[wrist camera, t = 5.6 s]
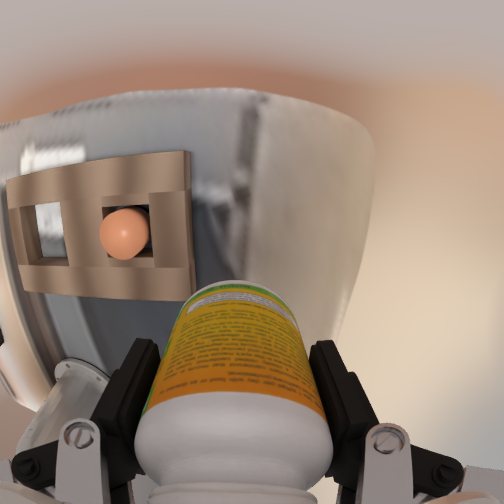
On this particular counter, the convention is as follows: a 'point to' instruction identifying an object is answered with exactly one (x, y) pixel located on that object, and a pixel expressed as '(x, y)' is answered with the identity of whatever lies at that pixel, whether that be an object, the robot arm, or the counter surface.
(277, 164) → the counter surface
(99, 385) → the robot arm
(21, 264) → the board
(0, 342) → the black angular piece
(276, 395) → the supplement bottle
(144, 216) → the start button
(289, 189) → the counter surface
